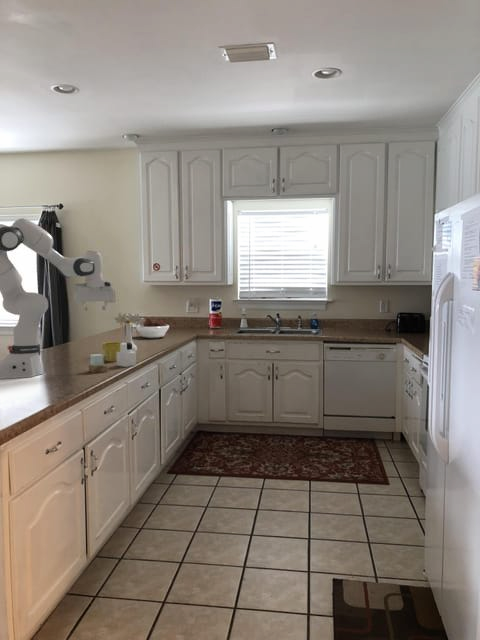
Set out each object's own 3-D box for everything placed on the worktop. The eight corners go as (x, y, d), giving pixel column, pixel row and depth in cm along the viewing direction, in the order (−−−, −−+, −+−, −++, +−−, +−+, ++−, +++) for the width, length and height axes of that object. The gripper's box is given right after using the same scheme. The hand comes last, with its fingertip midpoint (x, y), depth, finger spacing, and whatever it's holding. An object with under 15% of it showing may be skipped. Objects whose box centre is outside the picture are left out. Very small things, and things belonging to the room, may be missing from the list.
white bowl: (137, 336, 399) (137, 316, 397) (169, 335, 401) (169, 316, 400) (134, 340, 374) (134, 319, 373) (168, 339, 377) (168, 319, 375)
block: (92, 373, 245) (92, 367, 245) (89, 370, 251) (88, 364, 251) (107, 371, 249) (107, 365, 249) (103, 369, 255) (103, 363, 255)
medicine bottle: (127, 363, 272) (127, 341, 271) (136, 365, 268) (135, 342, 267) (116, 365, 267) (116, 342, 266) (125, 367, 262) (124, 344, 261)
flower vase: (143, 356, 299) (143, 313, 296) (112, 355, 299) (111, 313, 297) (147, 352, 312) (147, 312, 309) (117, 352, 312) (117, 311, 310)
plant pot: (115, 358, 290) (115, 341, 289) (125, 360, 283) (125, 343, 282) (99, 360, 283) (99, 342, 282) (109, 362, 275) (108, 344, 275)
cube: (93, 366, 248) (93, 356, 247) (90, 364, 252) (90, 354, 251) (103, 365, 250) (103, 355, 250) (100, 363, 255) (100, 353, 254)
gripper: (74, 283, 253) (75, 311, 254) (115, 283, 264) (115, 310, 265) (71, 283, 259) (72, 310, 260) (111, 283, 269) (112, 309, 270)
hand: (94, 310), depth 262 cm, fingers open, 8 cm apart
